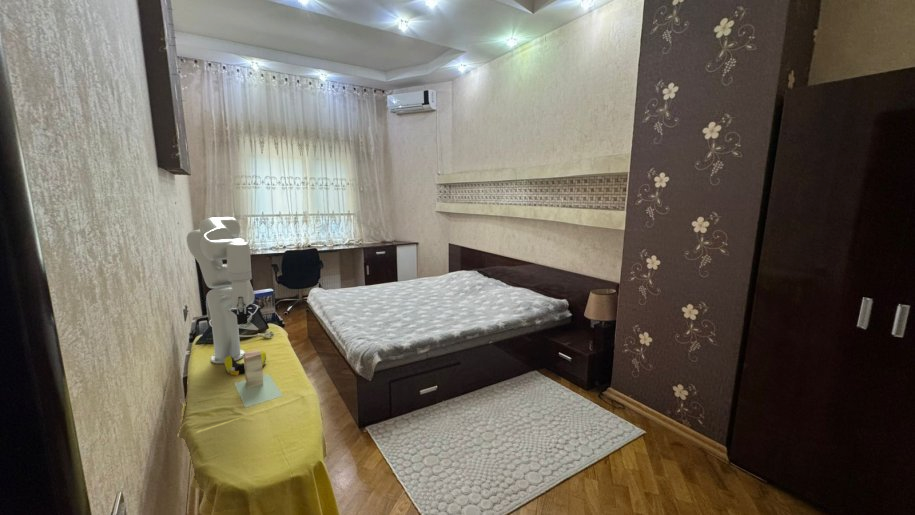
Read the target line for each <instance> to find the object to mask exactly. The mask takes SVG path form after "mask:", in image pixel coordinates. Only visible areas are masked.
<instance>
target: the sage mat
mask: <svg viewBox="0 0 915 515" xmlns="http://www.w3.org/2000/svg"><path fill="white" fill-rule="evenodd" d="M234 386H235V389H236V390H237V393H238V396H239V397H240V399H241V401H242V404H243V407H244V408H245V409H246V408H249V407H252V406H256V405H258V404H261V403H264V402H268V401H272V400H275V399H278V398H280V397H283V393H282V391H281V390H280V389H279V387H278V386H277V384H276V382H275V381H274V380H273V377H271V375H270V374H269V373H268V374H263V384H261V385H258V386H254V387H251V388H248V386H247V384H246V379H245V380H241V381H238V382H235V383H234Z"/></svg>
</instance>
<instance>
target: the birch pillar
mask: <svg viewBox="0 0 915 515" xmlns="http://www.w3.org/2000/svg"><path fill="white" fill-rule="evenodd" d="M243 356H244V357H243V363H244V368H245V373H244V375H245V376H244V377H245V380H246V384H247V386H248V388H251V387H254V386H258V385H261V384H263V375H264V372H263V367H262V359H261V353H260V350H259V349H256V350H250V351H246V352H245V353H243Z"/></svg>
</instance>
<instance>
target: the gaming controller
mask: <svg viewBox="0 0 915 515" xmlns="http://www.w3.org/2000/svg"><path fill="white" fill-rule="evenodd" d="M259 352H260V353H261V359H262V368H263V366H264V365H265V363H266V360H267V354H266V352H265V351H264V350H259ZM224 368H225V371H226V372H227V373H228V374H229V375H231V376H232V375H233V376H239V375H242V374H243V375H245V368H244V362H243V363H239V362H236V361H235V360H234V359H233V358H232V357H231V356H228V357H226V359H225V363H224Z"/></svg>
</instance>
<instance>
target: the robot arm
mask: <svg viewBox="0 0 915 515" xmlns="http://www.w3.org/2000/svg"><path fill="white" fill-rule="evenodd" d="M240 233H241V225H240V222H239V221H238V220H237V219H236V218H235V217H234V216H233V217H231V216H223V217H220V216H219V217H217V216H216V217H214V216H213V217H207V218H205V219H203V220H201V221H200V222H199V224H198V229H194V230H192V231H190V232H188V233H187V236H186V244H187V247H188V250H189V252H190V253H191V255H192V256H193V258H194V259H195V260H196V261H197V263H198V266H199V268H200V271H201V273H202V277H203V280H204V283H205V285H206V287H208V288H209V289H211V290H209V291H208V292H207V293H206V296H205V298H206V304H207V308H208V310H209V313H210V319H211V320H210V322H211V330H212V339H213V349H214V354H213V355H211V357H210V361H211V363H213V364H216V365H220V364H222V365H223V364H224V365H225V359H226V357H228V356H231V357H232V358H233V359H234V360H235V362H236V361H239V360H241V359H243V358H244V356H243V353H246V352H245V350H243V349H241V345H240V344H241V342H240V341H241V340H240V332H239V329H240V328H239V326H240V325H247V324H248V323H249V322H248V316H249V305H251V304H253V303H254V302H255V291H254V288H253V286H252V283H251V280H252V279H253V274H252V263H251V262H252V261H251V259H252V258H251V247H250V244H249V243H248V242H247V241H246V240H245V239H244V238H238V237H239V235H240ZM224 260H226V265H225V264H224V263H223V262H224ZM235 308H236V314H235V312H233V311H232V310H231V309H235Z"/></svg>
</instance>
